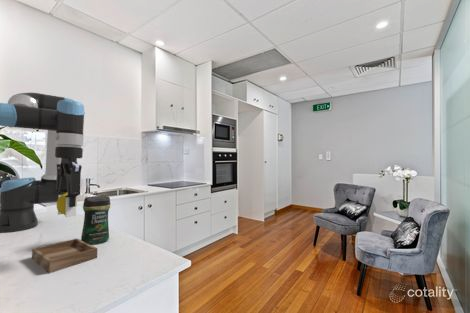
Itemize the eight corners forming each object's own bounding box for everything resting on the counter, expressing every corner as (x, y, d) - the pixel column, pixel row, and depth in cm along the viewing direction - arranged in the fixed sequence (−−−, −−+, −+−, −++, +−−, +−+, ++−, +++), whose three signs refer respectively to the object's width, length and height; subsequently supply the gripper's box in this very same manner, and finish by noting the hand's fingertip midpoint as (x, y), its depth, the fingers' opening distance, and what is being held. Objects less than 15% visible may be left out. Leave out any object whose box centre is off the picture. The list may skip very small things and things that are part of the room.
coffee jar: (82, 247, 85) (84, 198, 85) (79, 241, 91) (81, 195, 91) (111, 242, 91) (112, 196, 92) (106, 236, 97) (108, 193, 97)
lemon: (60, 218, 72) (61, 193, 72) (53, 216, 75) (54, 192, 75) (79, 215, 76) (80, 192, 77) (72, 213, 79) (73, 190, 80)
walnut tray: (31, 258, 74) (32, 249, 74) (76, 246, 85) (76, 238, 85) (49, 273, 65) (50, 262, 66) (97, 257, 76) (97, 248, 76)
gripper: (45, 146, 78) (42, 212, 78) (68, 145, 68) (64, 222, 67) (70, 147, 84) (68, 209, 84) (94, 147, 74) (91, 217, 74)
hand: (66, 214), depth 76 cm, fingers closed on lemon, 5 cm apart
